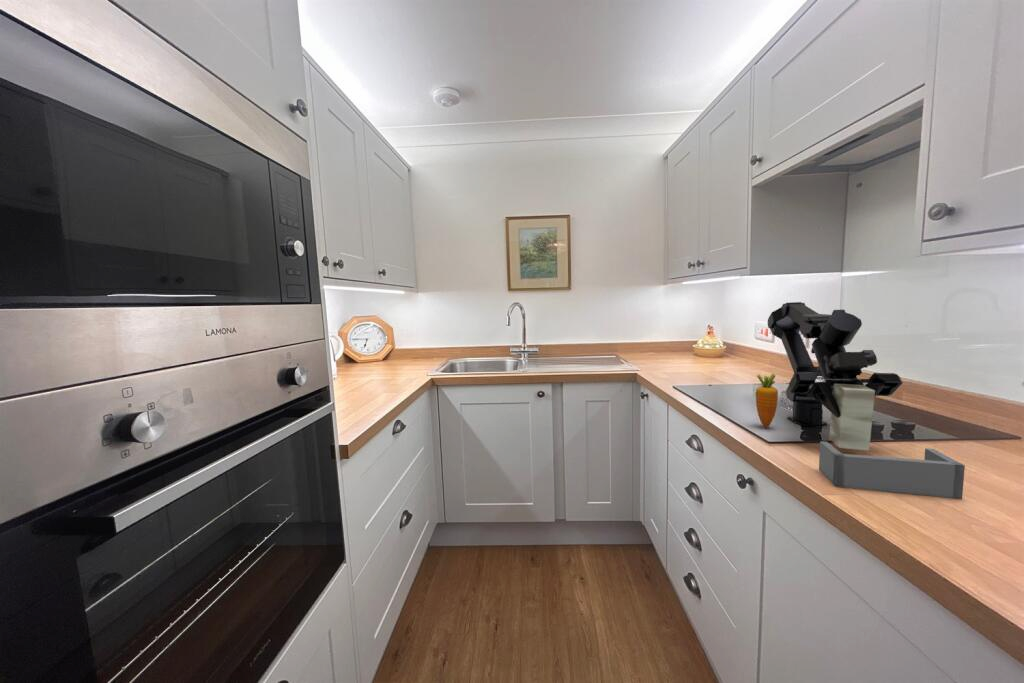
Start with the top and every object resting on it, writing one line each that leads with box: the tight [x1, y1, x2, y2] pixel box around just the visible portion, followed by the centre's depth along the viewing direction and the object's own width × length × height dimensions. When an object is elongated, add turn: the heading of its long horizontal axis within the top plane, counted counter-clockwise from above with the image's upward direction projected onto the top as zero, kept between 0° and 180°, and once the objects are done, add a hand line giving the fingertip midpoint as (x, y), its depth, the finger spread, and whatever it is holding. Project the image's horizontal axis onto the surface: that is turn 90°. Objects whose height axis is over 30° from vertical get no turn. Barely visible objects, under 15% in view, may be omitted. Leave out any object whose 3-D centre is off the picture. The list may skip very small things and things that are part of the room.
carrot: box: [755, 373, 779, 429], centre depth 99 cm, size 5×5×15 cm
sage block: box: [828, 384, 876, 451], centre depth 80 cm, size 5×5×13 cm
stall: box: [818, 441, 966, 500], centre depth 69 cm, size 7×17×6 cm, turn 70°
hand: (854, 417), depth 79 cm, fingers closed on sage block, 5 cm apart
